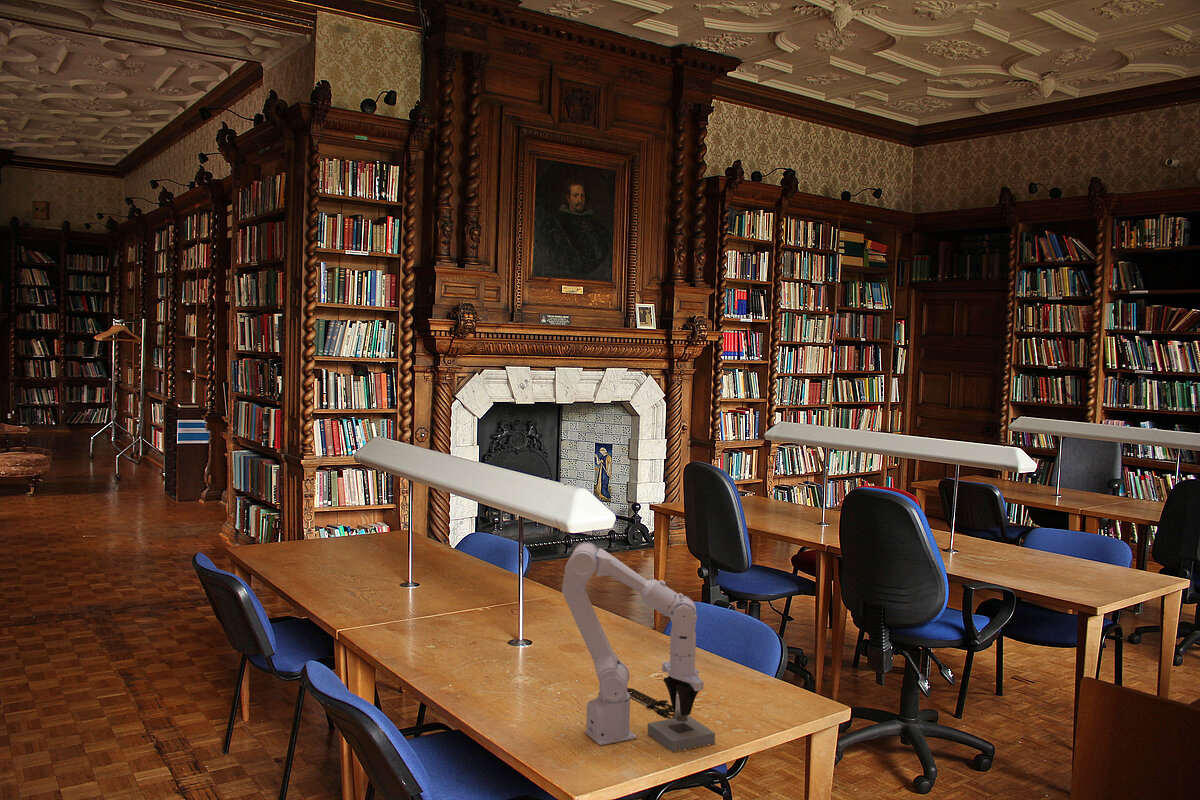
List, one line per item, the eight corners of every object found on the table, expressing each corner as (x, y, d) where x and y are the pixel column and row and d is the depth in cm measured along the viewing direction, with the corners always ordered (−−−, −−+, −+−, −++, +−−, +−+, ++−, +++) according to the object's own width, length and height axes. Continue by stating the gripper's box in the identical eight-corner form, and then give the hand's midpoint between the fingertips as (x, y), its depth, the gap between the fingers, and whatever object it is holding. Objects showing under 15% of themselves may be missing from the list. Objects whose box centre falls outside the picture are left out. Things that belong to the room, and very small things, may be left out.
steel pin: (679, 722, 207) (680, 691, 206) (672, 717, 209) (673, 687, 209) (690, 720, 208) (692, 689, 208) (683, 715, 211) (685, 685, 211)
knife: (612, 690, 240) (612, 685, 240) (633, 686, 243) (633, 681, 243) (668, 724, 218) (668, 718, 218) (690, 719, 221) (690, 713, 221)
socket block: (672, 752, 202) (672, 741, 201) (647, 733, 211) (647, 723, 211) (714, 743, 207) (715, 732, 206) (688, 726, 216) (688, 715, 216)
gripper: (715, 659, 203) (714, 720, 204) (680, 641, 216) (679, 698, 217) (688, 664, 200) (687, 725, 201) (654, 645, 213) (653, 703, 214)
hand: (681, 711), depth 209 cm, fingers closed on steel pin, 3 cm apart
